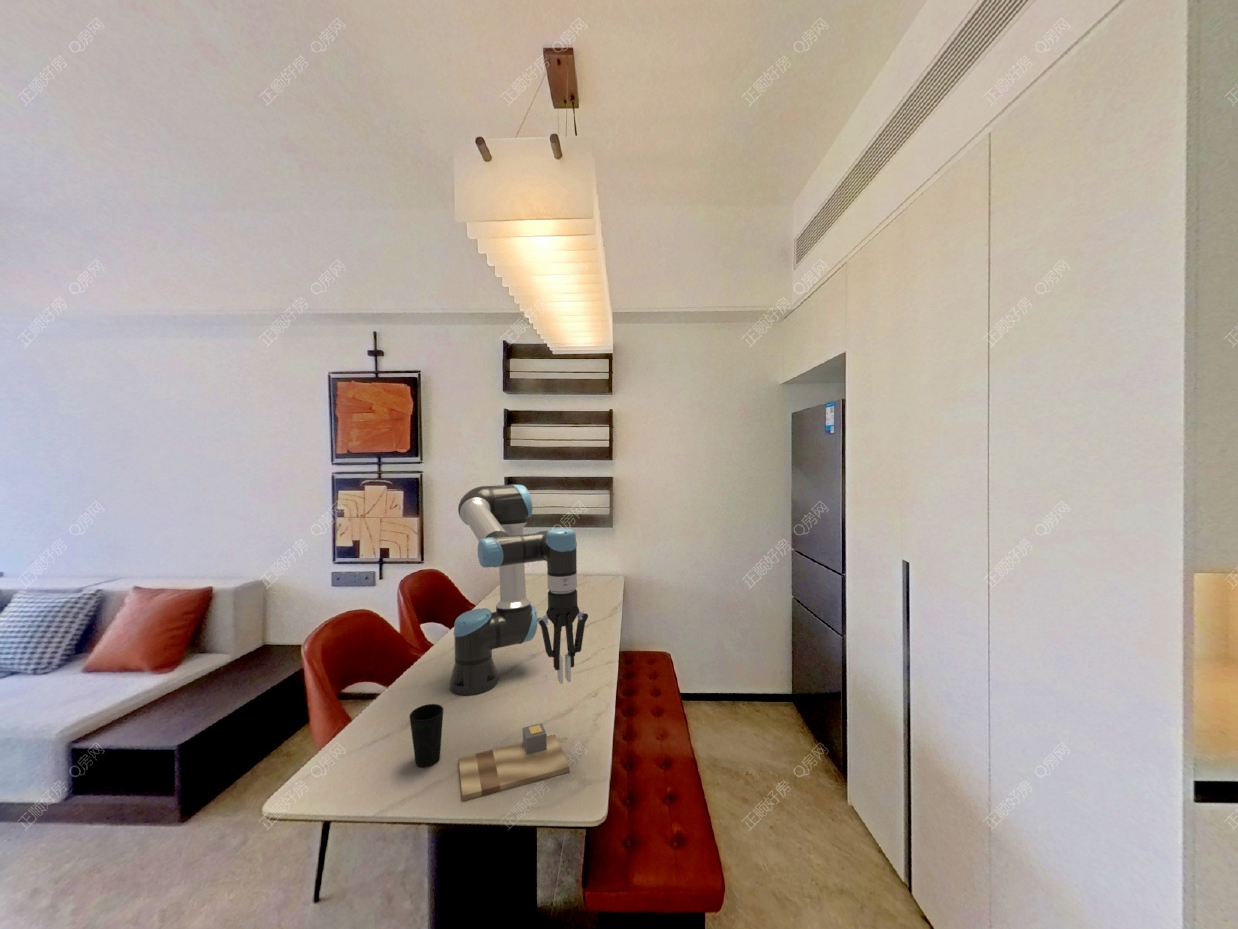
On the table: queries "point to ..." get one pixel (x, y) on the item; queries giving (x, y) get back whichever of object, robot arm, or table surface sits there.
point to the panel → (509, 768)
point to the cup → (427, 734)
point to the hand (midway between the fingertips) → (564, 680)
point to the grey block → (534, 739)
